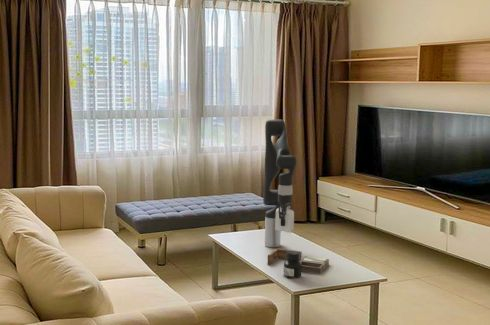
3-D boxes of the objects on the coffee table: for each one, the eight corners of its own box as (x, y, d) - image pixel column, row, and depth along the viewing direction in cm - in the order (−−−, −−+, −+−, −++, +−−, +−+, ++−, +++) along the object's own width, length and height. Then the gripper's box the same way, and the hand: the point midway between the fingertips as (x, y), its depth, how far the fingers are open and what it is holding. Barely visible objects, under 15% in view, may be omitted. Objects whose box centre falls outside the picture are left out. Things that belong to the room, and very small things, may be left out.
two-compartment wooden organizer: (305, 261, 321) (305, 255, 321) (328, 264, 316) (328, 258, 316) (295, 270, 306) (295, 264, 305) (320, 274, 301) (320, 267, 300)
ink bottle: (280, 273, 300) (280, 250, 298) (295, 271, 304) (296, 249, 302) (289, 279, 291) (289, 256, 290) (305, 277, 295) (305, 254, 293)
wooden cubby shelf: (276, 257, 328) (276, 248, 327) (301, 260, 322) (301, 251, 322) (267, 264, 315) (267, 255, 314) (293, 267, 310) (293, 258, 309)
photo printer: (294, 231, 314) (295, 208, 312) (290, 233, 310) (291, 210, 308) (277, 228, 319) (278, 206, 317) (273, 230, 316) (274, 207, 314)
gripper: (282, 190, 320) (282, 221, 322) (273, 194, 306) (273, 227, 309) (296, 191, 317) (295, 222, 319) (287, 196, 304) (286, 228, 306)
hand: (284, 224), depth 314 cm, fingers closed on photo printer, 4 cm apart
